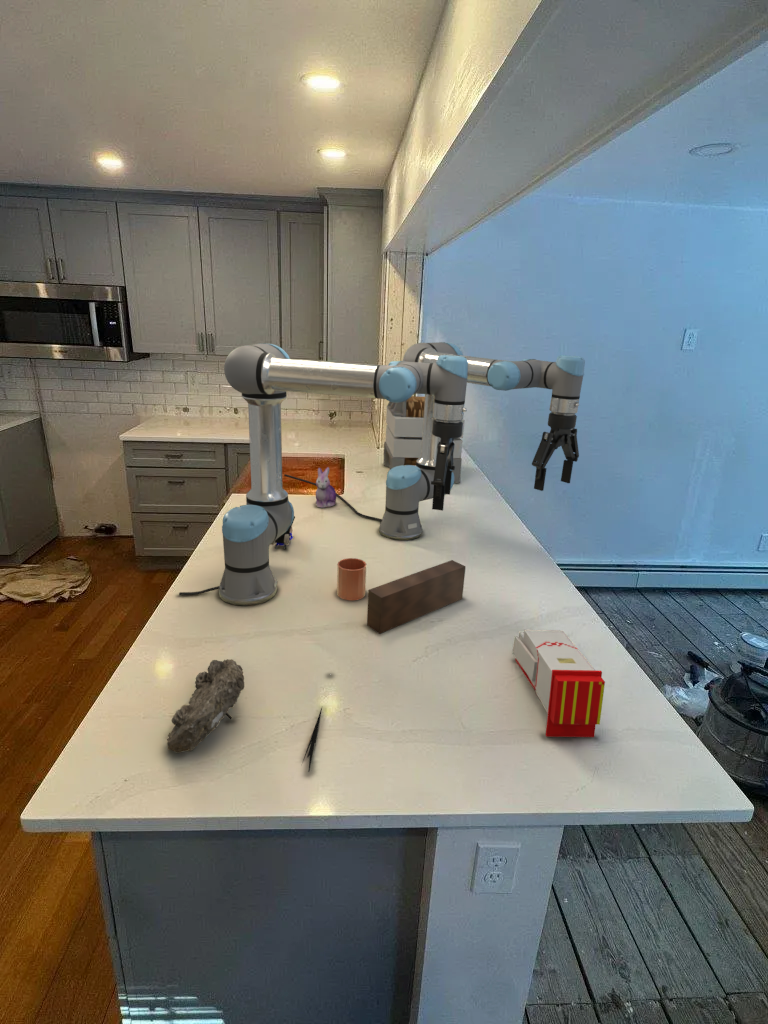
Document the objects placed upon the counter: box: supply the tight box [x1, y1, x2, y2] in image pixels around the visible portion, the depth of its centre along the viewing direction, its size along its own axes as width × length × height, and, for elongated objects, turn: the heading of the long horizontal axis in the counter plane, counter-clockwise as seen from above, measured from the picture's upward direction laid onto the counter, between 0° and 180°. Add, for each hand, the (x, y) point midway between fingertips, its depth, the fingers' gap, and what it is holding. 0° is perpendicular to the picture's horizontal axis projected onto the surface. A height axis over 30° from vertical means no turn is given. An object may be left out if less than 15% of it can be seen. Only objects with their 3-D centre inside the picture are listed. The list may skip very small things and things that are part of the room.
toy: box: [511, 629, 606, 738], centre depth 118 cm, size 12×13×30 cm
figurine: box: [315, 466, 337, 509], centre depth 223 cm, size 9×10×15 cm
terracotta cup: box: [336, 557, 368, 601], centre depth 155 cm, size 8×8×9 cm
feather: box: [301, 673, 332, 771], centre depth 108 cm, size 2×28×2 cm
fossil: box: [166, 658, 245, 754], centre depth 106 cm, size 22×10×15 cm
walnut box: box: [366, 559, 466, 635], centre depth 147 cm, size 30×5×10 cm, turn 131°
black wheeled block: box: [270, 515, 296, 550], centre depth 186 cm, size 7×8×15 cm
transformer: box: [383, 395, 465, 484], centre depth 268 cm, size 34×33×41 cm
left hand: (441, 501), depth 148 cm, fingers open, 13 cm apart
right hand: (552, 485), depth 166 cm, fingers open, 13 cm apart
